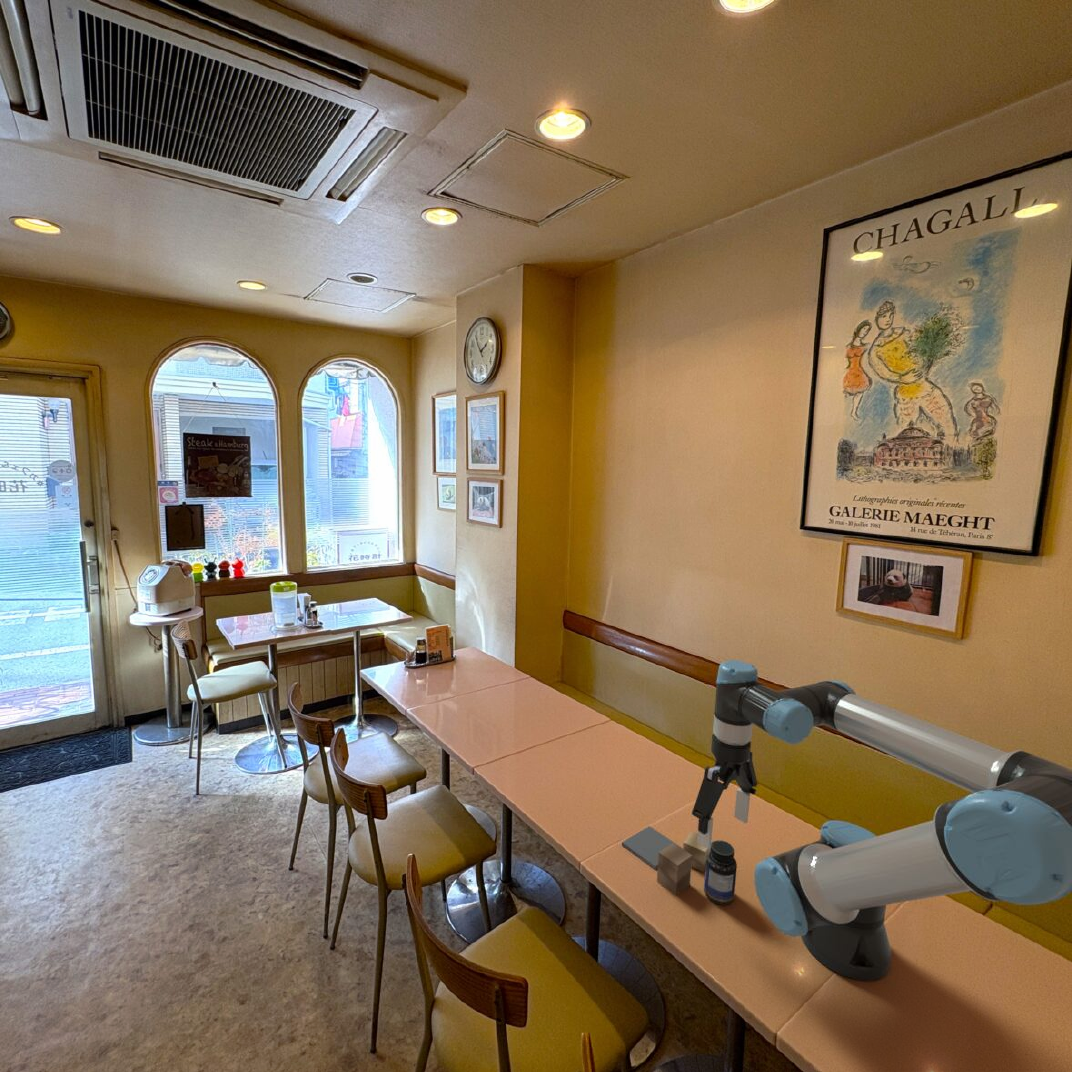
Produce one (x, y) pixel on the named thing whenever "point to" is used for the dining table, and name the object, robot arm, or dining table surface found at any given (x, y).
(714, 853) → the pill bottle
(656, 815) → the dining table surface
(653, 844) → the slate coaster
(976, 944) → the dining table surface
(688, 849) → the oak block
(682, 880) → the walnut block
